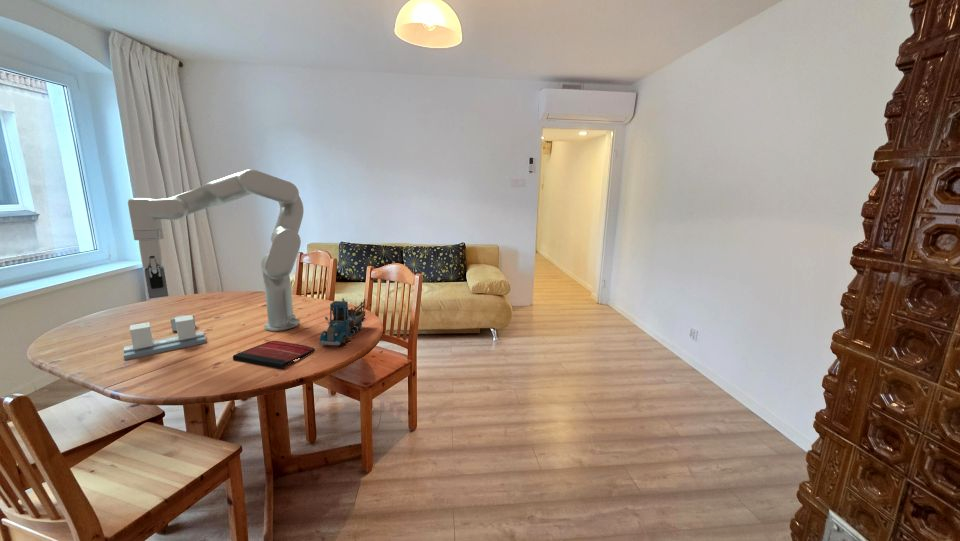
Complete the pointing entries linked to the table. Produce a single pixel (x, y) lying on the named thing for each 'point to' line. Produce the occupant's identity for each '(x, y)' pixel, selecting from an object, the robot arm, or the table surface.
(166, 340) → the din rail
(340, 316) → the toy truck
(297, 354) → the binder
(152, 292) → the block
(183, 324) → the mounted modules
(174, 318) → the power supply
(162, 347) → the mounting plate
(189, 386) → the table surface
